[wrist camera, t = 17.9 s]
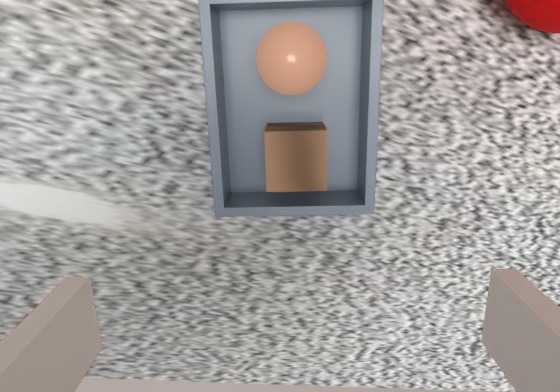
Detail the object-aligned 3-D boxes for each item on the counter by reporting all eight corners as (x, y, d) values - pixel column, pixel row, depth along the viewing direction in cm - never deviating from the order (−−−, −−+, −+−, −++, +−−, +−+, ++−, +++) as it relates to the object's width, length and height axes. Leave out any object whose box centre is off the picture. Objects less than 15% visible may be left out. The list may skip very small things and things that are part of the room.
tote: (224, 198, 41) (215, 216, 36) (210, 1, 36) (197, -8, 31) (364, 196, 41) (374, 214, 36) (371, -4, 35) (384, -14, 31)
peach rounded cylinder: (263, 90, 37) (257, 96, 31) (261, 29, 36) (254, 22, 29) (320, 88, 37) (326, 94, 30) (320, 27, 36) (327, 20, 29)
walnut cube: (269, 176, 40) (266, 192, 35) (267, 123, 38) (264, 131, 33) (322, 175, 40) (327, 190, 35) (322, 121, 38) (327, 130, 33)
